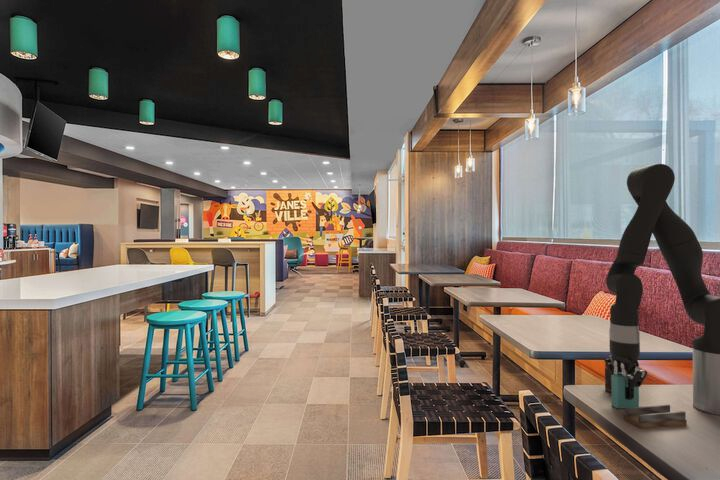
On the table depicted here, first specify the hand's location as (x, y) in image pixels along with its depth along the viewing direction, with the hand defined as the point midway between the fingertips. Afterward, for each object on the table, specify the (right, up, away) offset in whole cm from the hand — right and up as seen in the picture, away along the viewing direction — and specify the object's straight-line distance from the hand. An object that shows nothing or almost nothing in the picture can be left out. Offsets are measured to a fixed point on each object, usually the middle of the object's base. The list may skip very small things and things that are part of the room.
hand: (625, 397), depth 118 cm
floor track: (+1, -3, -10) cm, 10 cm away
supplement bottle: (+5, -3, +12) cm, 13 cm away
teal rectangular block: (0, -3, 0) cm, 3 cm away
